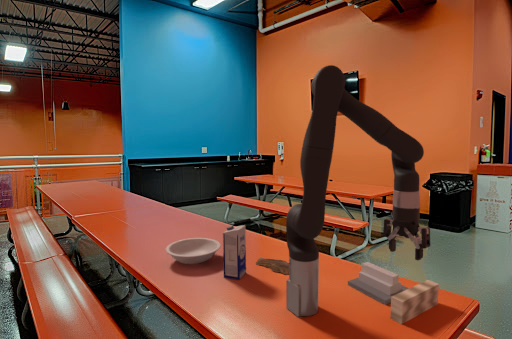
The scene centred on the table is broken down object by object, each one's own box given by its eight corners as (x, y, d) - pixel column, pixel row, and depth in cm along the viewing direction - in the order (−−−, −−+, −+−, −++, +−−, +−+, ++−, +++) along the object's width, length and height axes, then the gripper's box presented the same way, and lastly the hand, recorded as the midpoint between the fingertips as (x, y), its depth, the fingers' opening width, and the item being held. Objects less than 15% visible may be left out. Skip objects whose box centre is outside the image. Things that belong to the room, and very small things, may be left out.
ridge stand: (385, 304, 100) (386, 282, 99) (347, 284, 114) (348, 265, 113) (411, 293, 107) (412, 273, 106) (373, 276, 121) (374, 257, 120)
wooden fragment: (250, 262, 136) (250, 260, 136) (267, 256, 143) (267, 253, 143) (296, 281, 117) (296, 279, 117) (313, 272, 125) (313, 270, 125)
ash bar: (401, 325, 90) (402, 302, 89) (390, 319, 93) (391, 296, 92) (437, 304, 101) (438, 284, 100) (426, 299, 104) (427, 279, 103)
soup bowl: (195, 247, 155) (194, 234, 154) (232, 257, 141) (231, 243, 140) (154, 263, 135) (154, 248, 135) (192, 277, 122) (192, 261, 121)
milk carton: (239, 280, 118) (238, 229, 116) (223, 277, 121) (222, 227, 119) (246, 272, 125) (245, 224, 123) (231, 270, 127) (230, 223, 125)
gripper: (378, 202, 99) (377, 251, 101) (421, 210, 87) (420, 266, 89) (392, 199, 103) (392, 246, 105) (436, 206, 91) (434, 259, 93)
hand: (405, 255), depth 97 cm, fingers open, 8 cm apart
